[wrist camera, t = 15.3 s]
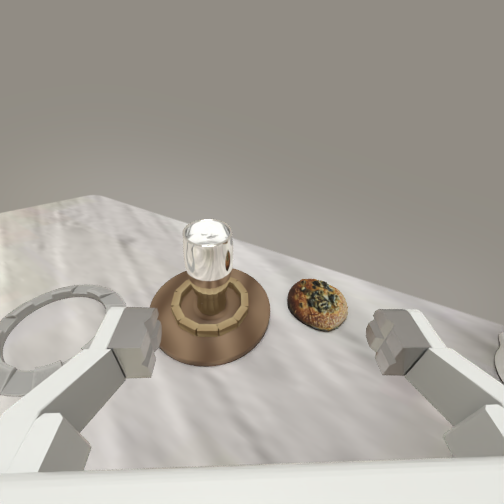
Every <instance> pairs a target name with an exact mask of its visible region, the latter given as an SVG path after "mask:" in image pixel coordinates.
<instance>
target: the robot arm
mask: <svg viewBox="0 0 504 504" xmlns="http://www.w3.org/2000/svg"><path fill="white" fill-rule="evenodd" d="M158 315H159V313H158V310H157V308H142V307H111V308H110V309H109V310H108V311H107V313H106V315H105V317H104V319H103V321H102V323H101V325H100V327H99V329H98V331H97V333H96V335H95V337H94V339H93V341H92V343H91V345H90V347H89V349H83V350H82V351H81V352H80V353H78V354H77V355H76V356H75V357H73V358H72V359H71V360H69V361H68V362H67V363H66V364H64V365H63V366H62V367H61V368H59V369H58V370H57V371H55V372H54V373H53V374H52V375H50V376H49V377H48V378H47V379H45V380H44V381H43V382H41V383H40V384H39V385H38V386H36V387H35V388H34V389H33V390H31V391H30V392H29V393H27V394H26V395H25V396H24V397H22V398H21V399H20V400H18V401H17V402H16V403H15V404H13V405H12V406H11V407H10V408H8V409H7V410H6V411H4V412H3V414H2V415H1V417H0V504H504V385H503V384H502V383H500V382H499V381H497V380H496V379H495V378H493V377H492V376H490V375H489V374H487V373H486V372H484V371H483V370H482V369H480V368H479V367H477V366H476V365H474V364H473V363H471V362H470V361H469V360H467V359H466V358H464V357H463V356H461V355H460V354H459V353H457V352H456V351H454V350H453V349H451V348H447V347H446V346H445V345H444V343H443V342H442V340H441V339H440V337H439V336H438V335H437V333H436V332H435V330H434V329H433V328H432V326H431V325H430V323H429V322H428V320H427V319H426V318H425V316H424V315H423V313H422V312H421V311H419V310H403V309H378V310H377V311H375V313H374V315H373V317H374V320H373V321H371V322H370V323H369V324H368V326H367V328H366V338H367V342H368V344H369V346H370V348H371V349H373V350H374V351H375V352H376V355H375V360H376V362H377V364H378V367H379V369H380V371H381V373H382V375H399V376H405V378H406V379H407V380H408V381H409V382H410V383H411V384H412V385H413V386H414V387H415V388H416V389H417V390H418V391H419V392H420V393H421V394H422V395H423V396H424V397H425V398H426V399H427V400H428V401H429V402H430V403H431V404H432V405H433V406H434V407H435V408H436V409H437V410H438V411H439V412H440V413H441V414H442V415H443V416H444V417H445V418H446V419H447V420H448V421H449V422H450V423H451V424H452V425H453V426H454V427H453V428H451V429H450V430H449V431H447V432H446V433H445V434H444V436H443V438H444V440H445V442H446V444H447V446H448V448H449V450H450V451H451V453H452V455H453V457H454V458H429V459H400V460H372V461H343V462H315V463H286V464H257V465H229V466H200V467H172V468H143V469H115V470H86V471H83V470H84V467H85V465H86V462H87V459H88V456H89V453H90V450H91V446H90V443H89V442H88V441H87V440H86V439H85V438H84V437H83V436H82V435H81V434H80V432H81V431H82V430H83V428H84V427H85V426H86V425H87V424H88V423H89V422H90V420H91V419H92V418H93V417H94V416H95V415H96V414H97V412H98V411H99V410H100V409H101V408H102V407H103V406H104V404H105V403H106V402H107V401H108V400H109V399H110V398H111V396H112V395H113V394H114V393H115V392H116V391H117V390H118V388H119V387H120V386H121V385H122V384H123V383H124V382H125V380H126V378H151V376H152V372H153V369H154V365H155V361H156V357H155V354H154V352H155V351H156V350H157V349H158V348H159V346H160V342H161V336H162V326H161V322H160V321H159V320H157V318H158ZM499 342H500V348H499V349H498V351H497V352H496V355H495V365H496V369H497V371H498V374H499V376H500V377H501V379H502V381H503V382H504V331H503V332H502V333H500V334H499Z"/></svg>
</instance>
